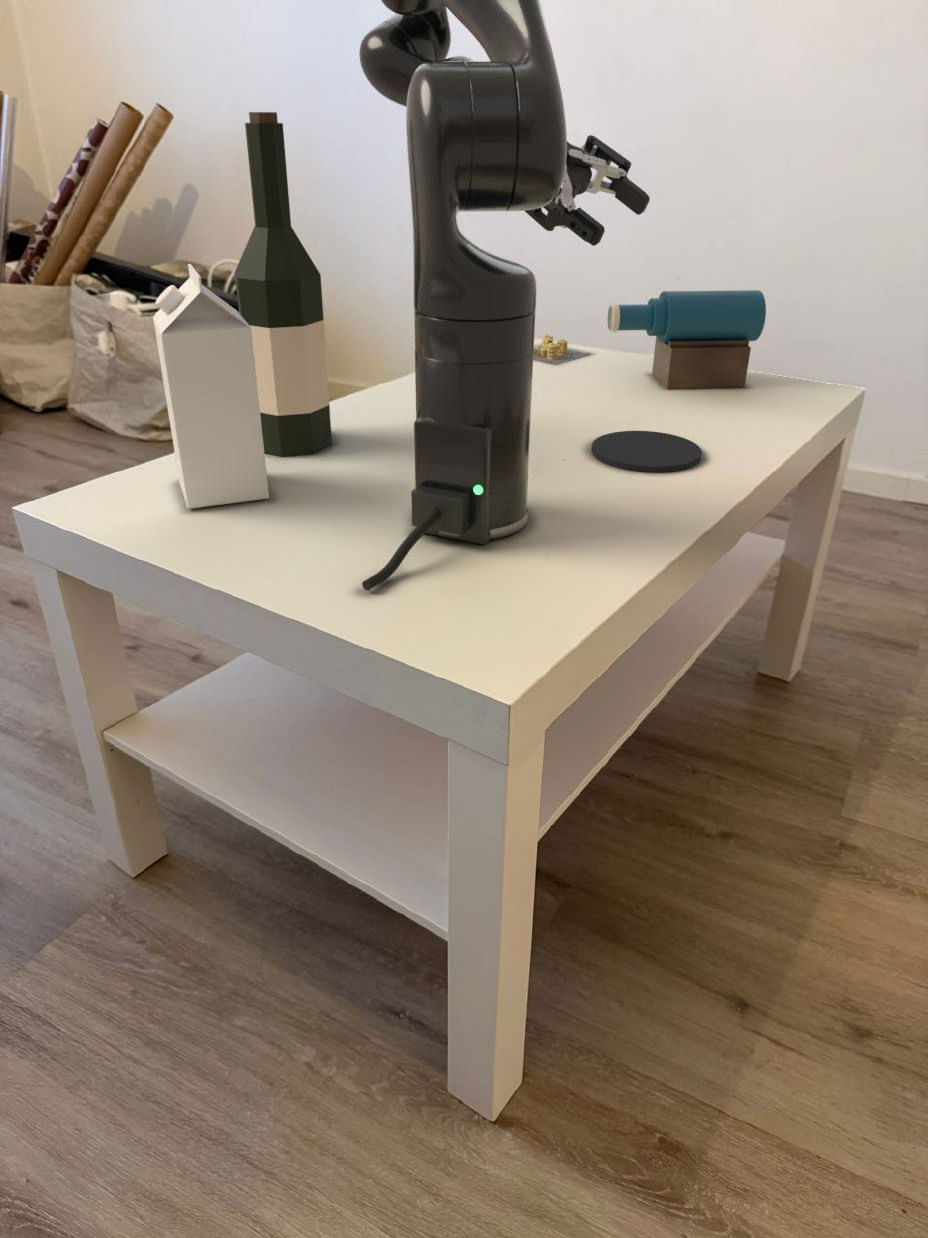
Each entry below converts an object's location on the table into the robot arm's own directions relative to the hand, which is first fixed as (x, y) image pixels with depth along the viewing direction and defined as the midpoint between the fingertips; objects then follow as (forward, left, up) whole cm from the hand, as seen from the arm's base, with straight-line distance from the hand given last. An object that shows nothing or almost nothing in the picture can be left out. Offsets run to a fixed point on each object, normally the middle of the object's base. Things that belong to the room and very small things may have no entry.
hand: (623, 221), depth 97 cm
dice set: (+20, +14, -20) cm, 32 cm away
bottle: (+13, -5, -15) cm, 20 cm away
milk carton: (-42, +23, -20) cm, 52 cm away
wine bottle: (-28, +25, -20) cm, 43 cm away
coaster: (-15, -9, -20) cm, 26 cm away
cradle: (+15, -7, -20) cm, 26 cm away
